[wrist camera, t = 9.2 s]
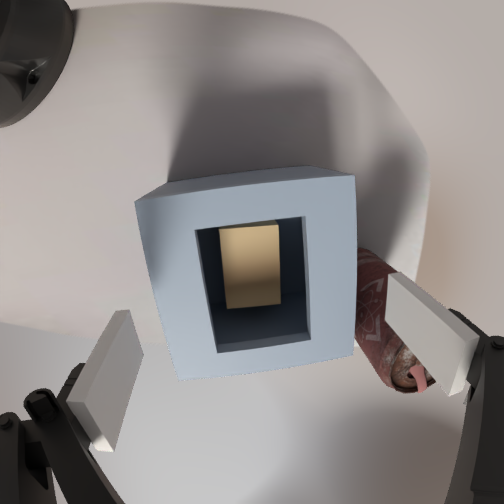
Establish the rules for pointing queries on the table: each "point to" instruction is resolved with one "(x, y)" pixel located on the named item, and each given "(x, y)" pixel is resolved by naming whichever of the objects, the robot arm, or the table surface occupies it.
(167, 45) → the table surface
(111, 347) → the robot arm
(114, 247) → the table surface
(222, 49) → the table surface
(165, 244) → the coin box
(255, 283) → the wooden block
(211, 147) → the table surface
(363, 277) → the can
